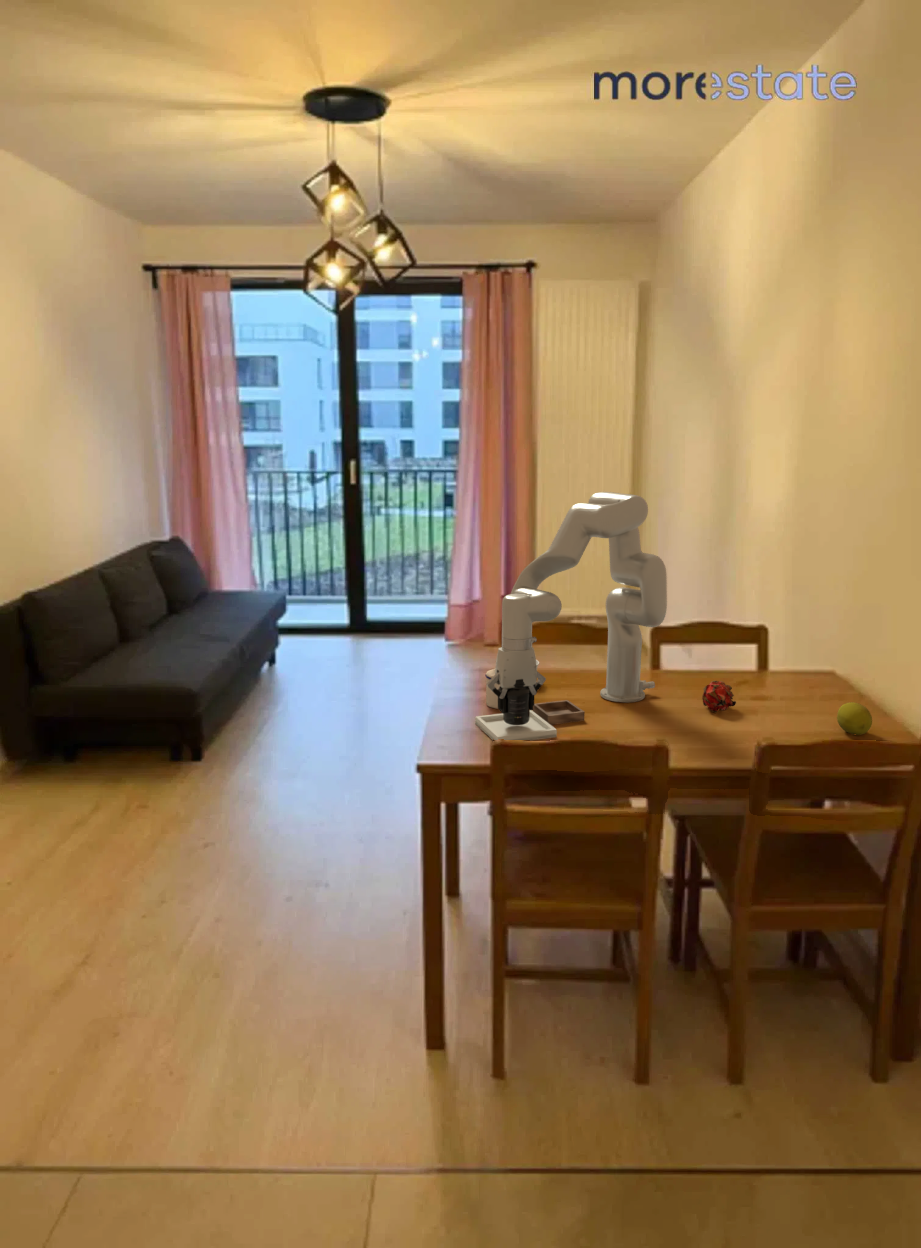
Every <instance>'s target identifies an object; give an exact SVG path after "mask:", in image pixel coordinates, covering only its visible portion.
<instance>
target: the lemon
mask: <svg viewBox="0 0 921 1248" xmlns="http://www.w3.org/2000/svg"><path fill="white" fill-rule="evenodd" d="M836 720H837V723H838V725H839V726H840V729H842V730H843V731H844V732H845V733H848V734H850V733H851V734H850V735H854V734H856V736H862V735H865V734H867V733H868V731H870V729H871V727H872V725H873V716H872V714H871V712H870V710H869V709H868V708H867V707H866V706H865V705H863V704H861V703H858V702H853V701H851V702H846V703H844V704H842V705H841V706H839V708H838V711H837V716H836Z"/></svg>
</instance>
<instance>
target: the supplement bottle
mask: <svg viewBox="0 0 921 1248" xmlns="http://www.w3.org/2000/svg"><path fill="white" fill-rule="evenodd" d="M524 685H525V684H524V682H523V679H518V680H516V683H515V685H514V688H509V689H508V690H507V692H506V694H505V699H506V713H505V714H503V720H504V722H505V723H507V724H510V725H523V724H526V723H528V722H529V719H530V690H529V688H528V687H524Z"/></svg>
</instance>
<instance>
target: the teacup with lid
mask: <svg viewBox="0 0 921 1248" xmlns="http://www.w3.org/2000/svg"><path fill="white" fill-rule="evenodd" d="M494 675H495V667H494V668H493V669H489V670H487V671H486V673H485V679H486V681H485V684H487V682H488V681H489V680H490V679H491V678H492V677H493V676H494ZM494 686H495V687H496V689H498V688H499V686H500V684H496V683H495V684H494ZM485 704H486V705H487V706H488V707H489V708H492V709H498V696H497V695H496V694H495V693H494V692H492V690H491V689H490V688H489V687H488V686H487V685H486V686H485ZM498 710H499V709H498Z"/></svg>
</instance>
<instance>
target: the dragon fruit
mask: <svg viewBox="0 0 921 1248" xmlns="http://www.w3.org/2000/svg"><path fill="white" fill-rule="evenodd" d="M732 689H733V688H732V686H731V685H729V684H726V683H725V682H724V681H723V680H712V681H711V682H710V683H709V684H706V686H704V687H703V693H702V697H701V700H702V704H703V706H704V707H708V709H709V710H710V712H712V713H714V714H715V713H718V712H719V710H721V711H725V710H727V709H729V707H735V706H736V704H737V701H735V700H733V697H735V694H734V693H733V691H732ZM717 711H718V712H717Z"/></svg>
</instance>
